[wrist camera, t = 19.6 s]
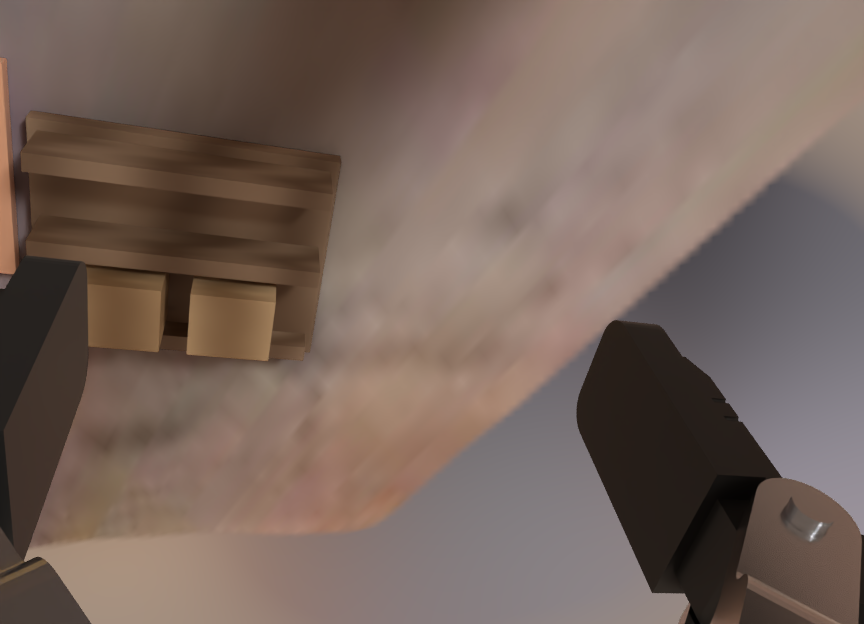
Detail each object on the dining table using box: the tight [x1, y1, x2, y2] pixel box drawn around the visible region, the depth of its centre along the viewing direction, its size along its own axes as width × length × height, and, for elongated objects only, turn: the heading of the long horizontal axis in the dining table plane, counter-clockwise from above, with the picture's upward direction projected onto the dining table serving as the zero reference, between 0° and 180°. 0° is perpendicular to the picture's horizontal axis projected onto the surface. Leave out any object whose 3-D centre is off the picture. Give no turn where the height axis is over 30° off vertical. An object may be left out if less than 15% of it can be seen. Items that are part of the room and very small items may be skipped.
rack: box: [20, 111, 341, 361], centre depth 44 cm, size 16×13×4 cm
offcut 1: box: [85, 264, 169, 352], centre depth 43 cm, size 4×4×4 cm
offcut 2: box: [187, 275, 276, 361], centre depth 45 cm, size 4×4×4 cm
